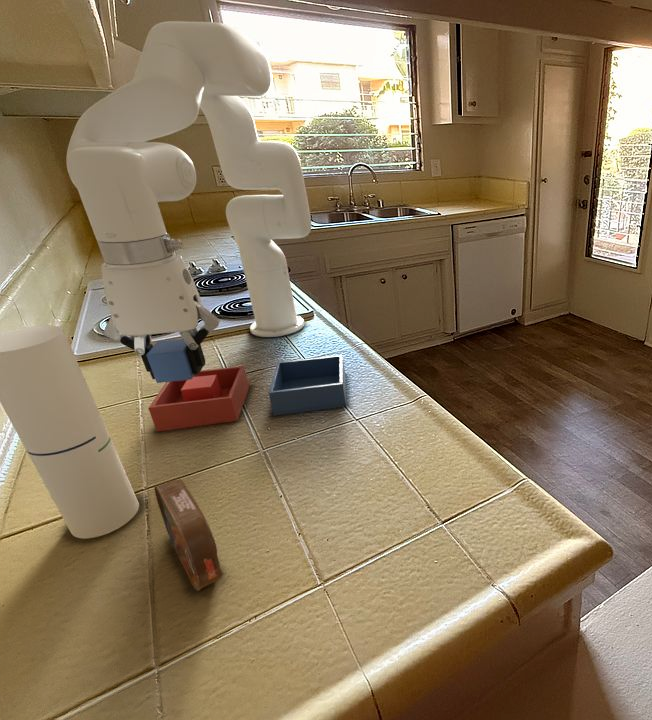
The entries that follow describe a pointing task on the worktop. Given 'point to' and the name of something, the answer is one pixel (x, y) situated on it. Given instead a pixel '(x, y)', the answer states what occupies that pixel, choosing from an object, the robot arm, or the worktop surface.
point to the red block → (201, 388)
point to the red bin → (200, 402)
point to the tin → (189, 533)
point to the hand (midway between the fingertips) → (178, 371)
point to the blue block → (170, 361)
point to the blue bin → (308, 385)
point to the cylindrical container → (63, 430)
